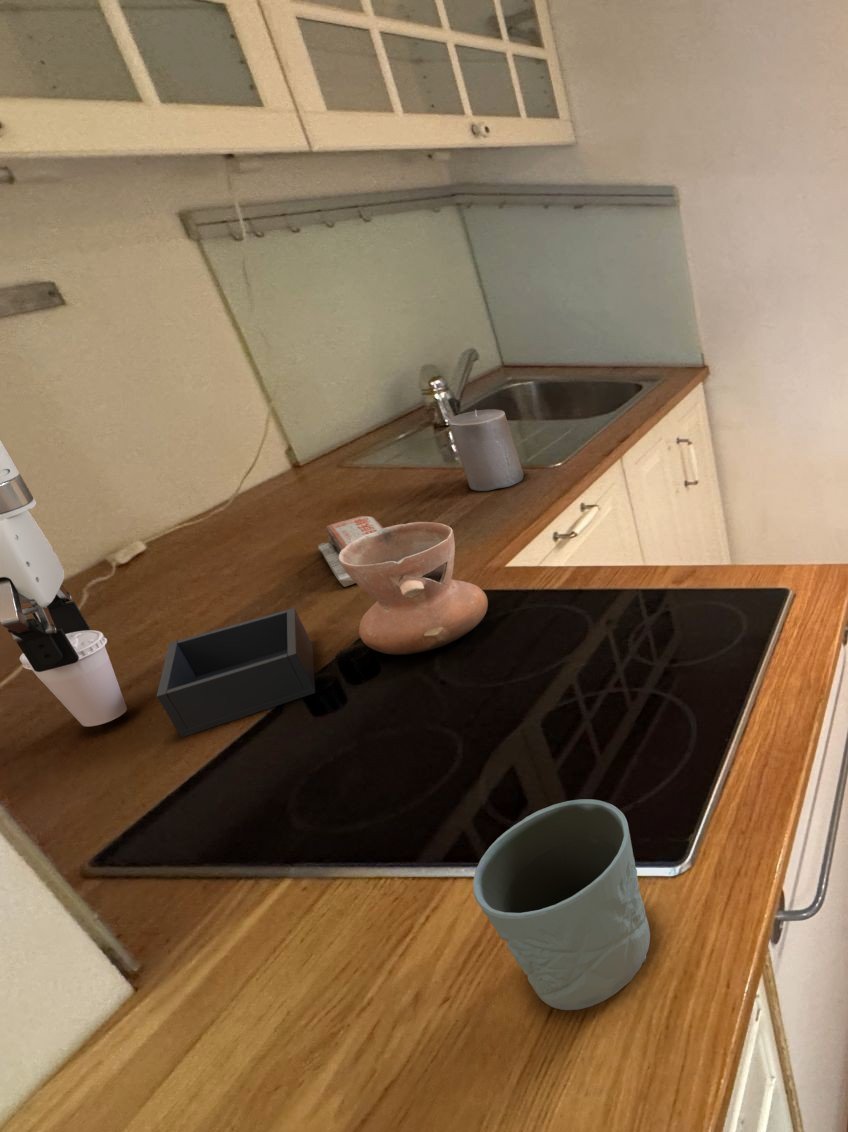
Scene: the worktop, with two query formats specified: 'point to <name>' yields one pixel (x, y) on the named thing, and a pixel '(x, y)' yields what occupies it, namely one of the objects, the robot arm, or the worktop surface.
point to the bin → (236, 672)
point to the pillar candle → (486, 449)
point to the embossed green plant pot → (567, 901)
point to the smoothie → (85, 681)
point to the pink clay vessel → (412, 588)
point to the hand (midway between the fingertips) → (64, 650)
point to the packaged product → (345, 542)
